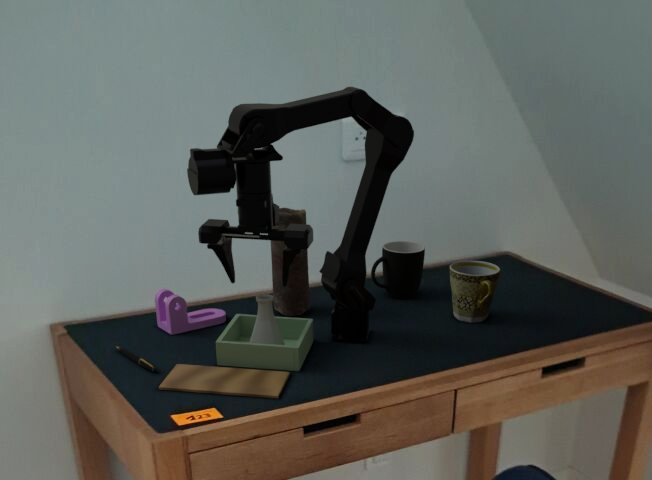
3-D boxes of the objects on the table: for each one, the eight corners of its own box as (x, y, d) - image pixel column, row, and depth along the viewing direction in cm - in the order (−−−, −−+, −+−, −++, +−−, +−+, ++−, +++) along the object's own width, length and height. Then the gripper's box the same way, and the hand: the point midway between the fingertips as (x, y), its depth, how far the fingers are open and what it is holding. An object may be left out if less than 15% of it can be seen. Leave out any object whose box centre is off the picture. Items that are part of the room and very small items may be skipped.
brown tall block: (266, 308, 176) (261, 206, 165) (295, 302, 180) (293, 202, 169) (286, 319, 171) (283, 215, 160) (317, 312, 175) (316, 210, 164)
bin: (313, 341, 162) (313, 318, 160) (299, 371, 150) (298, 347, 148) (237, 335, 163) (236, 313, 161) (217, 365, 151) (215, 341, 149)
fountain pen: (113, 350, 156) (112, 342, 155) (119, 348, 156) (118, 340, 155) (153, 375, 147) (152, 367, 146) (160, 373, 147) (159, 365, 147)
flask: (280, 360, 153) (278, 305, 147) (241, 356, 154) (238, 301, 148) (291, 346, 159) (290, 292, 153) (254, 342, 160) (251, 288, 154)
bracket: (171, 334, 163) (167, 298, 159) (157, 326, 166) (153, 290, 162) (231, 321, 169) (228, 286, 166) (216, 313, 173) (214, 278, 169)
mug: (408, 285, 191) (411, 239, 186) (430, 297, 185) (433, 249, 179) (361, 292, 186) (362, 245, 181) (381, 305, 180) (382, 256, 174)
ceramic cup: (438, 310, 178) (442, 262, 172) (482, 307, 181) (487, 259, 175) (463, 332, 168) (467, 281, 162) (509, 328, 170) (515, 278, 165)
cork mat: (289, 374, 149) (289, 371, 148) (277, 398, 140) (277, 395, 140) (177, 366, 150) (176, 363, 150) (158, 389, 142) (158, 386, 142)
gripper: (318, 182, 148) (319, 273, 157) (212, 177, 149) (219, 267, 158) (306, 197, 139) (308, 293, 147) (193, 191, 140) (202, 286, 149)
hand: (259, 284), depth 151 cm, fingers open, 9 cm apart
